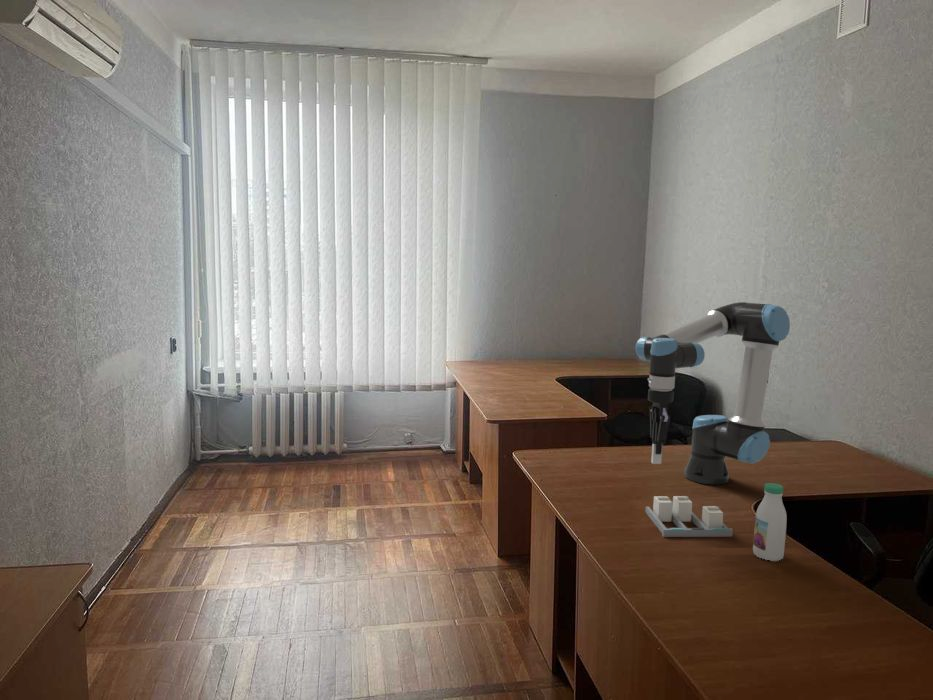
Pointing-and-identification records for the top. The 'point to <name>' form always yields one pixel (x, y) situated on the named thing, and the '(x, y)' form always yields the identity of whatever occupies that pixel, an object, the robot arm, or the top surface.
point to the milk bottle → (770, 525)
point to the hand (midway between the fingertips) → (656, 463)
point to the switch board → (688, 532)
